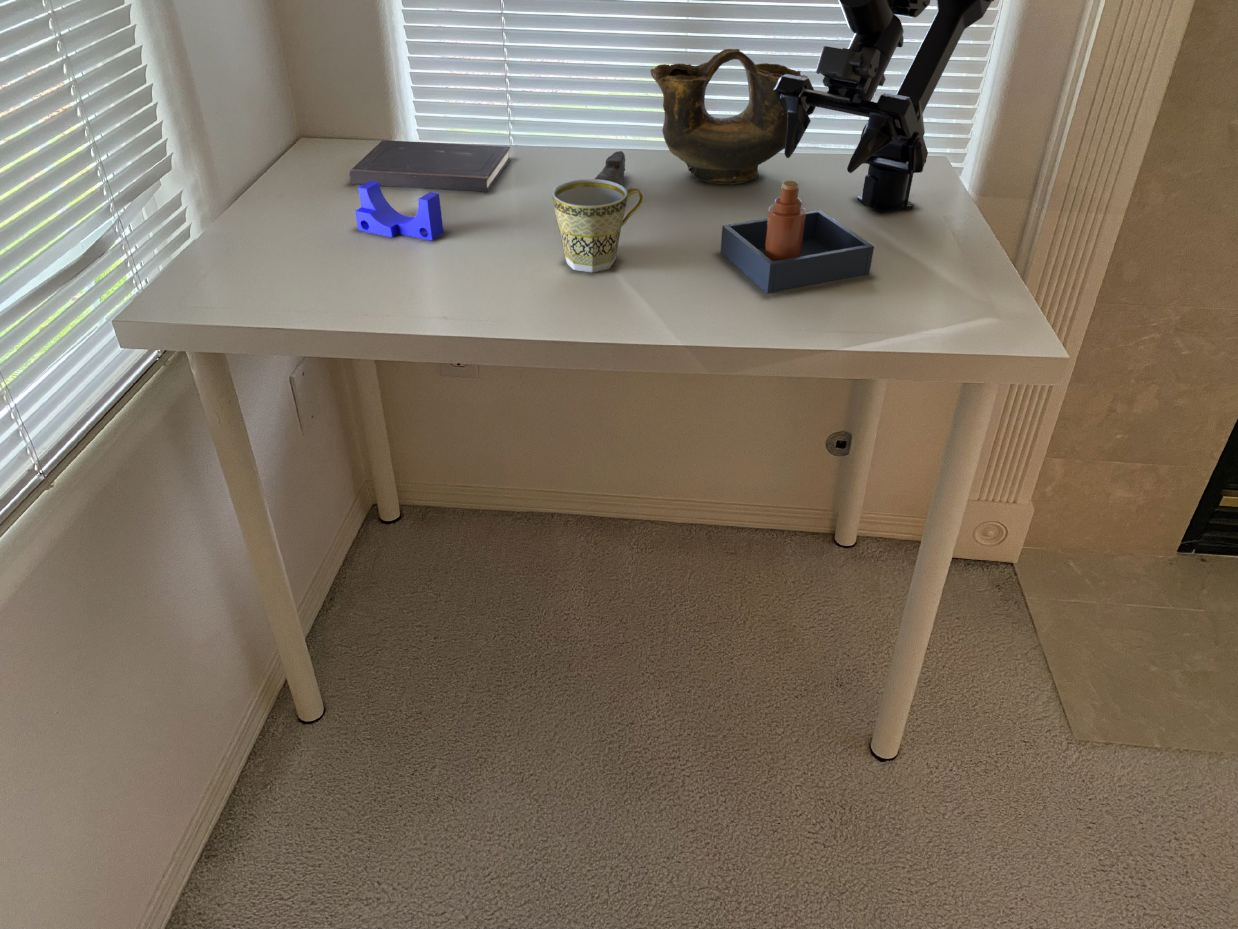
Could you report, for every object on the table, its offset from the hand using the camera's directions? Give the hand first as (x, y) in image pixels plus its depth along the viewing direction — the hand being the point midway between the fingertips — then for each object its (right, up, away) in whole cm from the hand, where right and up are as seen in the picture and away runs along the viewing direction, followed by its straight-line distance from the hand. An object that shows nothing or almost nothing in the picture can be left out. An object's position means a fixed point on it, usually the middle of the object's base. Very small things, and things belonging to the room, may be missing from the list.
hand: (817, 163), depth 123 cm
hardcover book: (-58, +10, +35) cm, 68 cm away
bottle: (-4, -14, +3) cm, 15 cm away
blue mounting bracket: (-58, -5, +15) cm, 61 cm away
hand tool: (-29, +4, +27) cm, 40 cm away
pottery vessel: (-9, +9, +35) cm, 37 cm away
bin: (-2, -12, +6) cm, 14 cm away
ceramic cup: (-29, -11, +8) cm, 32 cm away
